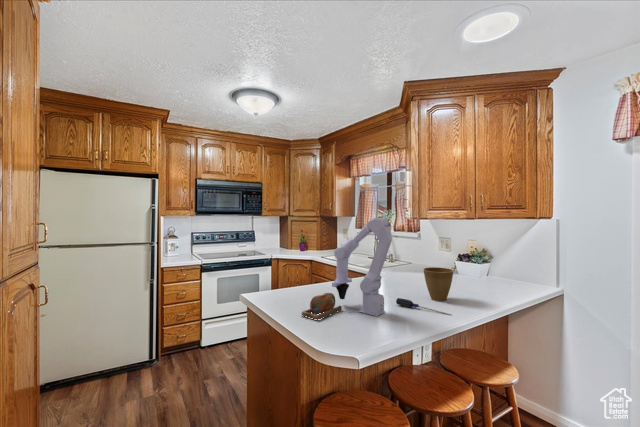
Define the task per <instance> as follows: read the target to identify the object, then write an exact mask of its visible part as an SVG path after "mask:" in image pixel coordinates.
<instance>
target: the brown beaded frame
mask: <svg viewBox="0 0 640 427" xmlns="http://www.w3.org/2000/svg"><path fill="white" fill-rule="evenodd" d="M342 307H343V306H341V305H339V306H335V307H334V308H333V309H331V310H329V311H326V312H324V313H321V314H319V315H316V314H313V313H312V314H311V310H310V308H308V309H306V310H303V311H301V316H302V315H303V316H307V317H310V318H313V319H317V320H318V319H321V318H323V317H326V316H328V315H330V314H332V315H334V314H333V313H335V312H337V311H339V312H341V311H342V310H343V308H342ZM340 310H341V311H340ZM337 313H338V312H337ZM335 314H336V313H335ZM330 316H331V315H330ZM328 317H329V316H328ZM326 318H327V317H326ZM323 319H324V318H323ZM321 320H322V319H321Z"/></svg>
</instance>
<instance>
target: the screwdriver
mask: <svg viewBox="0 0 640 427" xmlns="http://www.w3.org/2000/svg"><path fill="white" fill-rule="evenodd" d="M395 302H396V305H399V306H402V307H404V308H408V309H409V308H420V309H424V310H429V311H432V312H434V313H435V312H436V313H439V314H442V315H448V316H452V313H448V312H443V311H441V310H436V309H433V308H429V307H424V306H421V305H419V304H418V303H414V302H413V301H412V300H411V299H406V298H401V297H400V298H399V297H397V298H396V300H395Z"/></svg>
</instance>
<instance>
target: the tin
mask: <svg viewBox="0 0 640 427" xmlns="http://www.w3.org/2000/svg"><path fill="white" fill-rule="evenodd" d="M335 297H336V296H335V295H334V294H333V293H331V292H325V293H322V294H319V295H314V296H313V297H312V298H311V300H310V304H309V309H310V310H311V312H312V314H314V315H317V314H319V313H323V312H326V311H329V310H331V309H333V308H335V307H336V298H335Z"/></svg>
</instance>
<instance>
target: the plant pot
mask: <svg viewBox="0 0 640 427" xmlns="http://www.w3.org/2000/svg"><path fill="white" fill-rule="evenodd" d="M423 275H424V280H425V285H426V289H427V291H428V294H429V297H430V299H431V300H432V301H435V302H445V301H447V299H448V296H449V293H450V291H451V286H452V282H453V277H454V270H453V269H452V268H446V267H435V266H434V267H425V268H423Z"/></svg>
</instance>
